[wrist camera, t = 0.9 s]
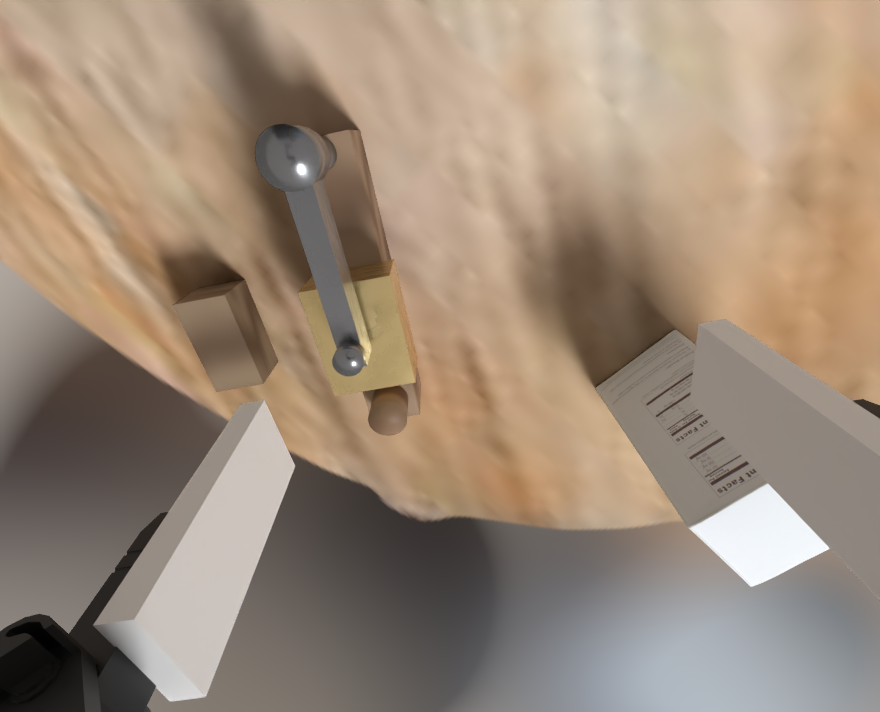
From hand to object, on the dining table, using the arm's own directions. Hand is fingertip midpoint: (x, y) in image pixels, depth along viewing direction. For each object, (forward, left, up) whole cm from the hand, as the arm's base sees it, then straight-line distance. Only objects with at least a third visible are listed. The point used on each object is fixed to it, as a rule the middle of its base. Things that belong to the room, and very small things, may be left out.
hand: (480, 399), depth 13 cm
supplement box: (+18, +18, -25) cm, 35 cm away
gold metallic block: (+4, -7, -19) cm, 21 cm away
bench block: (+4, -20, -24) cm, 31 cm away
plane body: (+2, -7, -24) cm, 25 cm away
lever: (-2, -7, -15) cm, 16 cm away
